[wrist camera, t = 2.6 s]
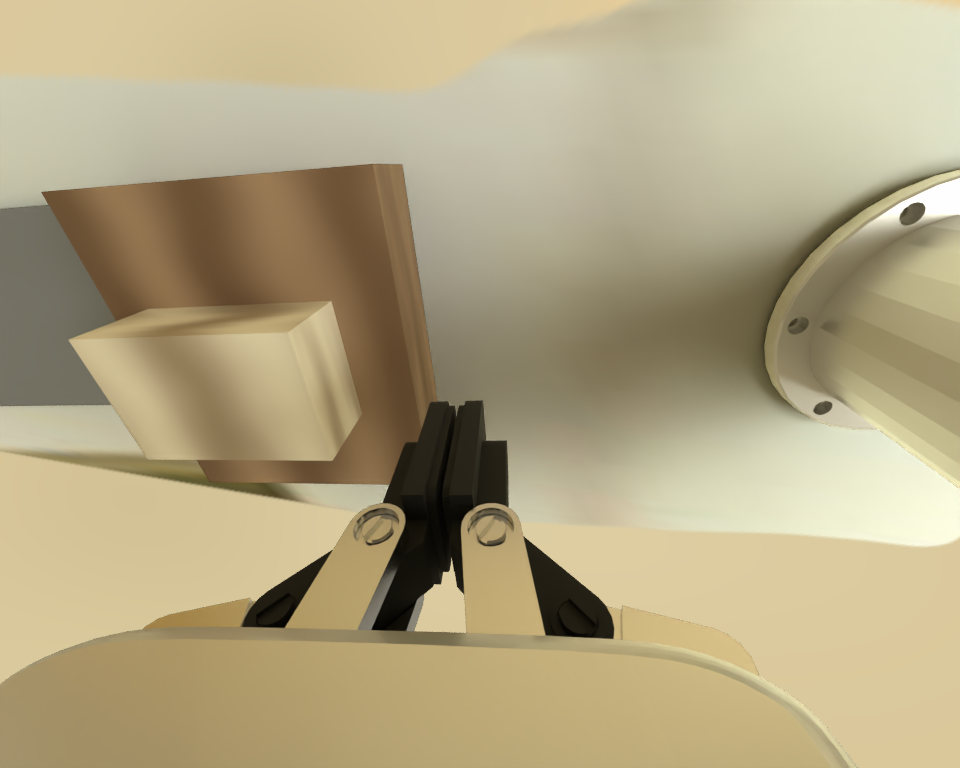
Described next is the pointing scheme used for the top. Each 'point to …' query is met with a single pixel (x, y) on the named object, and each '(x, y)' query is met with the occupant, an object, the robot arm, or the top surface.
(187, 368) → the beige rectangular block
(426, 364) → the step
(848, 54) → the top surface
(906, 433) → the robot arm
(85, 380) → the mat
